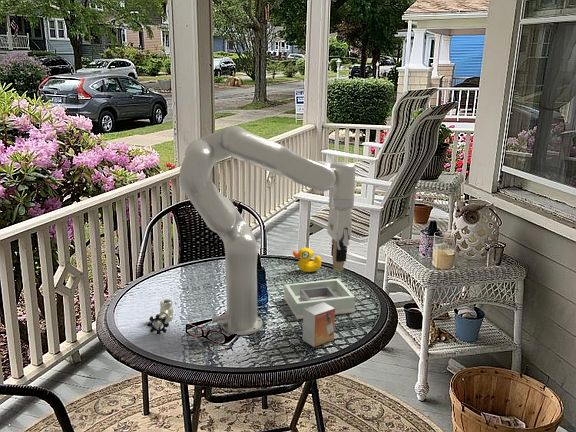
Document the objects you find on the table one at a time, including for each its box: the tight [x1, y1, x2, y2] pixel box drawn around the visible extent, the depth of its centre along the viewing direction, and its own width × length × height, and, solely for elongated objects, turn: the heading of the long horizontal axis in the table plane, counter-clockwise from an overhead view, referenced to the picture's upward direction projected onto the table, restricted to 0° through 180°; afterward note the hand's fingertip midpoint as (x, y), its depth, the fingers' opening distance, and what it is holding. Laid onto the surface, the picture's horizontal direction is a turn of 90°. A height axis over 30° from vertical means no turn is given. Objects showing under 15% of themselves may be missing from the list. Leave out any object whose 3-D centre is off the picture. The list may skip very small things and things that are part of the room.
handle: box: [330, 224, 346, 273], centre depth 167 cm, size 5×6×15 cm
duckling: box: [292, 247, 322, 273], centre depth 210 cm, size 11×5×10 cm, turn 95°
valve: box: [146, 298, 174, 336], centre depth 167 cm, size 7×7×12 cm
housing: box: [283, 278, 356, 320], centre depth 181 cm, size 20×16×6 cm
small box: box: [302, 302, 336, 348], centre depth 158 cm, size 8×6×10 cm
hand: (338, 258), depth 167 cm, fingers closed on handle, 3 cm apart
